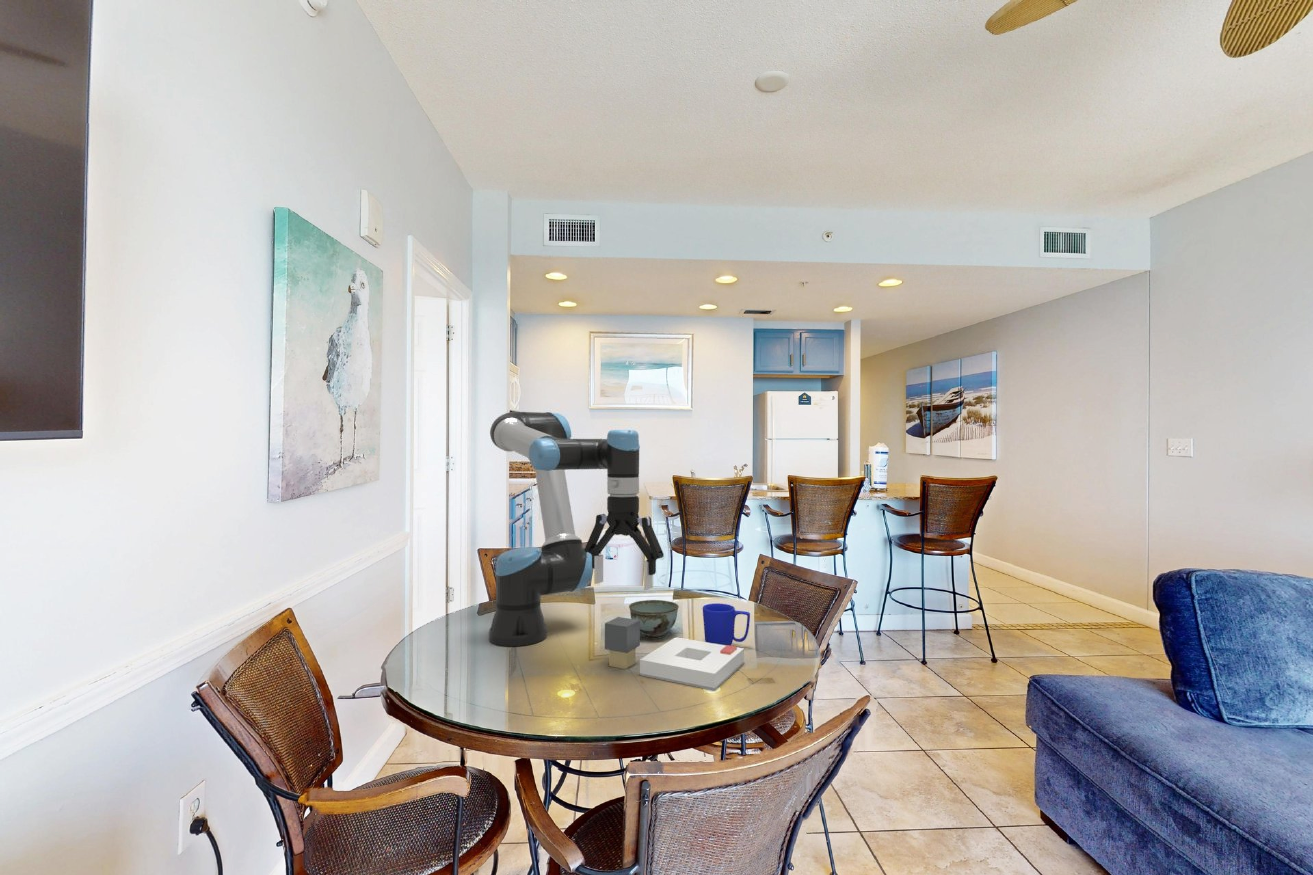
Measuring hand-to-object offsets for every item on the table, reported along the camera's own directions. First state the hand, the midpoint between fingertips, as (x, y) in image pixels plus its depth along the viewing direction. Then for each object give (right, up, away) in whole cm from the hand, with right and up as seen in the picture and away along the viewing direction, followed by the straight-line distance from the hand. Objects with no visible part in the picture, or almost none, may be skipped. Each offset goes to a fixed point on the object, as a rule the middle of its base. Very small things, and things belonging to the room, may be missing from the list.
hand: (623, 585), depth 142 cm
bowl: (+7, -19, +22) cm, 30 cm away
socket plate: (+16, -18, -3) cm, 25 cm away
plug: (0, -18, 0) cm, 18 cm away
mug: (+26, -19, +12) cm, 34 cm away
